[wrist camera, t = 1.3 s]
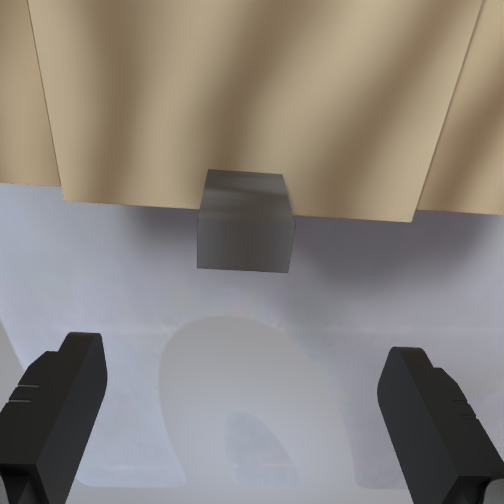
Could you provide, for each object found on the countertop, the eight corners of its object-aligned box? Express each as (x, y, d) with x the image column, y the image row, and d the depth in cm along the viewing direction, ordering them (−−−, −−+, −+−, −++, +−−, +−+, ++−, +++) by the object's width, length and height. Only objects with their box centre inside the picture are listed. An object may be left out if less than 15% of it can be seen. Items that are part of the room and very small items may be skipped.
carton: (43, 133, 32) (-48, 187, 22) (-17, -178, 23) (-221, -332, 13) (428, 161, 34) (507, 222, 24) (516, -115, 25) (705, -204, 15)
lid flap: (68, 196, 22) (8, 258, 17) (-20, -308, 13) (-222, -558, 7) (407, 217, 23) (460, 282, 18) (547, -229, 14) (751, -392, 9)
